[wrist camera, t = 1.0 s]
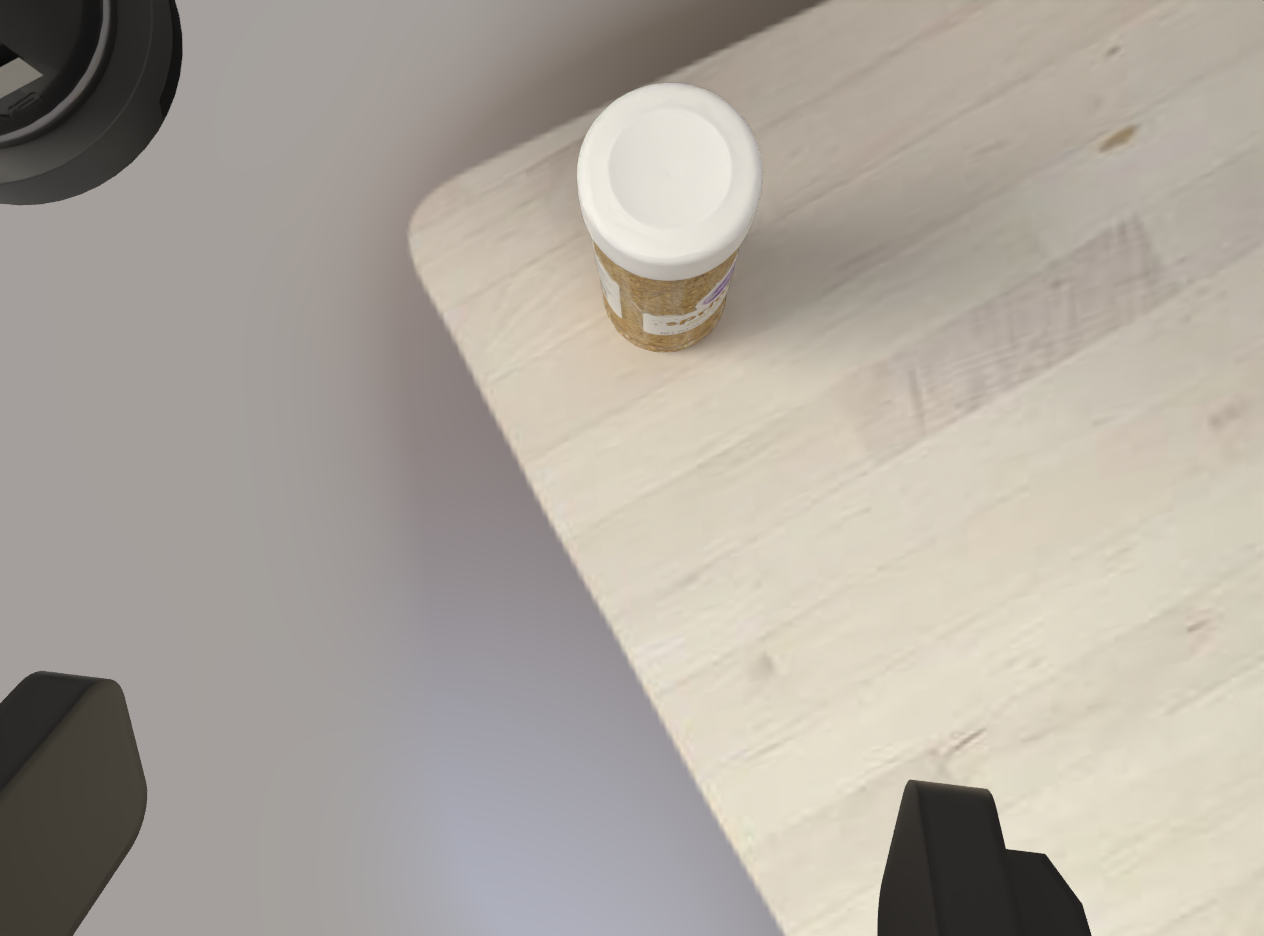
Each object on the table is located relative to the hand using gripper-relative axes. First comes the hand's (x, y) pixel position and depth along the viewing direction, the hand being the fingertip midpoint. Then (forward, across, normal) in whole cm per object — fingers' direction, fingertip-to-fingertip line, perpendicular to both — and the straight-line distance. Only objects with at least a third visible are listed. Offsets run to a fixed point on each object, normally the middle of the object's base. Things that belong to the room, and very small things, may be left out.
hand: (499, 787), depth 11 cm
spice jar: (+29, +1, +5) cm, 30 cm away
